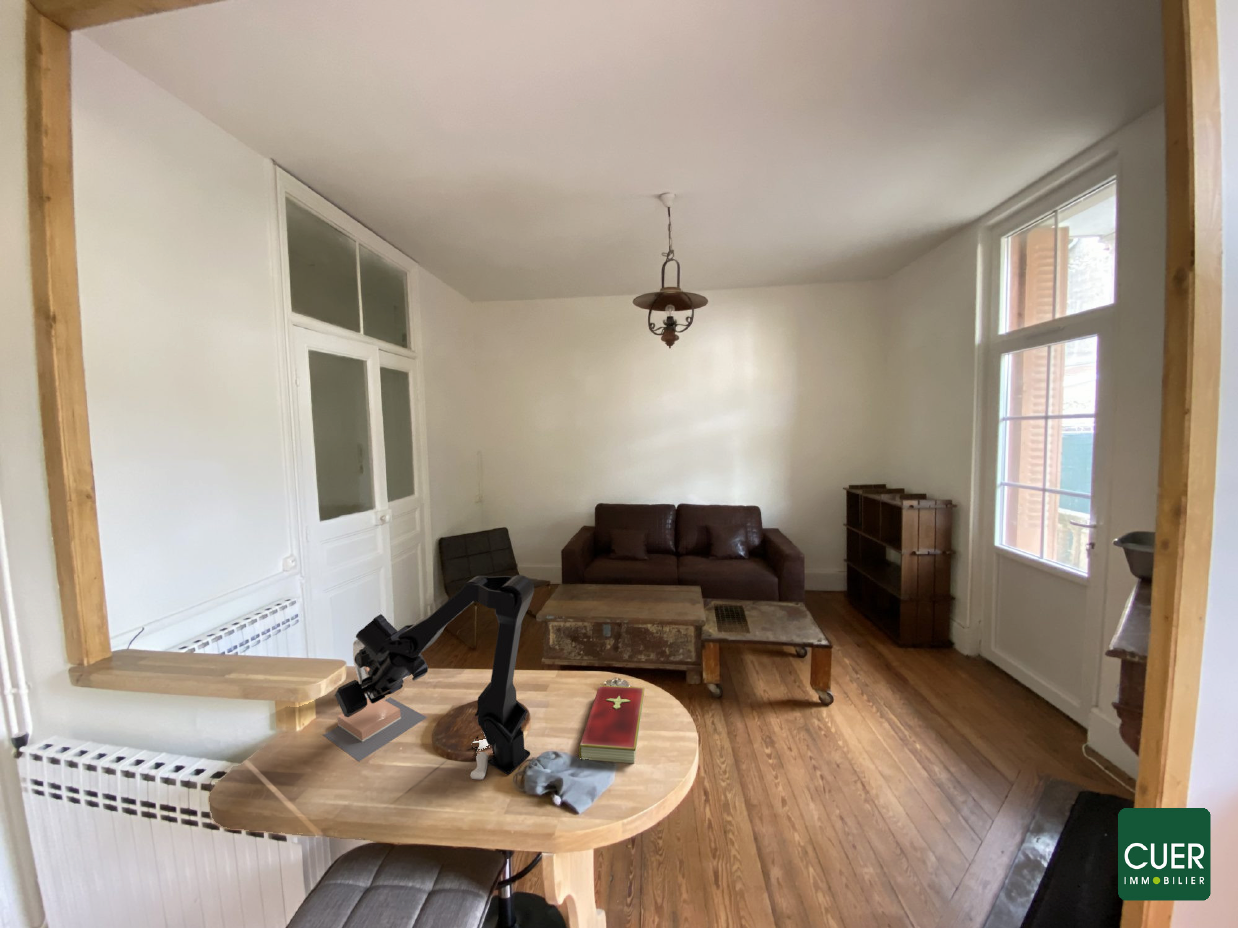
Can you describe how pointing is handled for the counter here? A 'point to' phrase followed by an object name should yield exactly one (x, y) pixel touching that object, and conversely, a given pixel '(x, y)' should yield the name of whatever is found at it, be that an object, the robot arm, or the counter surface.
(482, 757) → the knife
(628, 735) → the hardcover book
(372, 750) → the mat
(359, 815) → the counter surface
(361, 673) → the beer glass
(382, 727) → the tile
